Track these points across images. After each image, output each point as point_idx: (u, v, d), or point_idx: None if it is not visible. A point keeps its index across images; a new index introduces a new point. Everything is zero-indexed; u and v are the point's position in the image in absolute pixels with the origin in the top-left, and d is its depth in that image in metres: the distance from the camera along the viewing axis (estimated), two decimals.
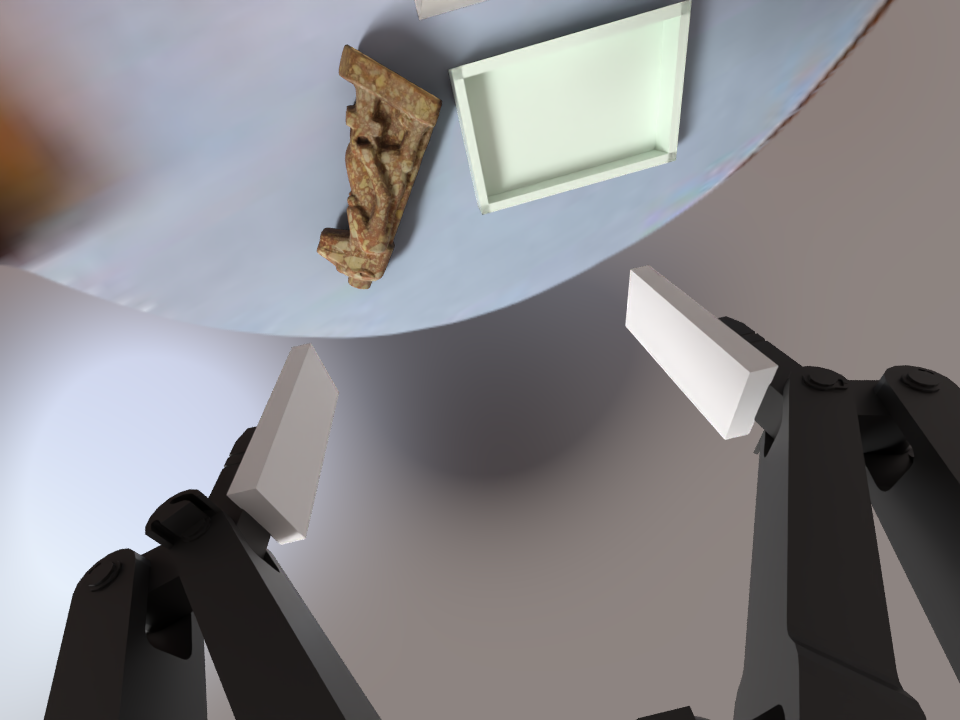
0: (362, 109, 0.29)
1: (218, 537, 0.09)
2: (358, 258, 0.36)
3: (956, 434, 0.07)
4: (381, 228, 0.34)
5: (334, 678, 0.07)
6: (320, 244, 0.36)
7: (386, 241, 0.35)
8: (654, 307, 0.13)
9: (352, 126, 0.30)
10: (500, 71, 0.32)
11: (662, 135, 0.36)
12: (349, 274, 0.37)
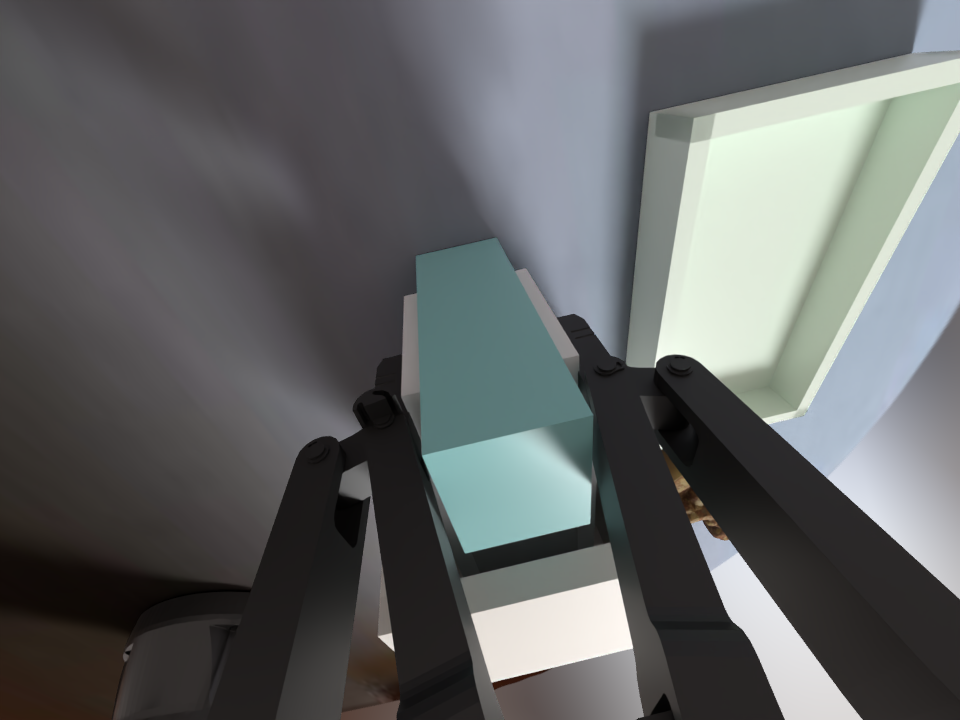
0: None
1: (397, 434, 0.10)
2: None
3: (715, 408, 0.09)
4: None
5: (459, 596, 0.07)
6: (720, 538, 0.35)
7: None
8: None
9: None
10: None
11: None
12: None
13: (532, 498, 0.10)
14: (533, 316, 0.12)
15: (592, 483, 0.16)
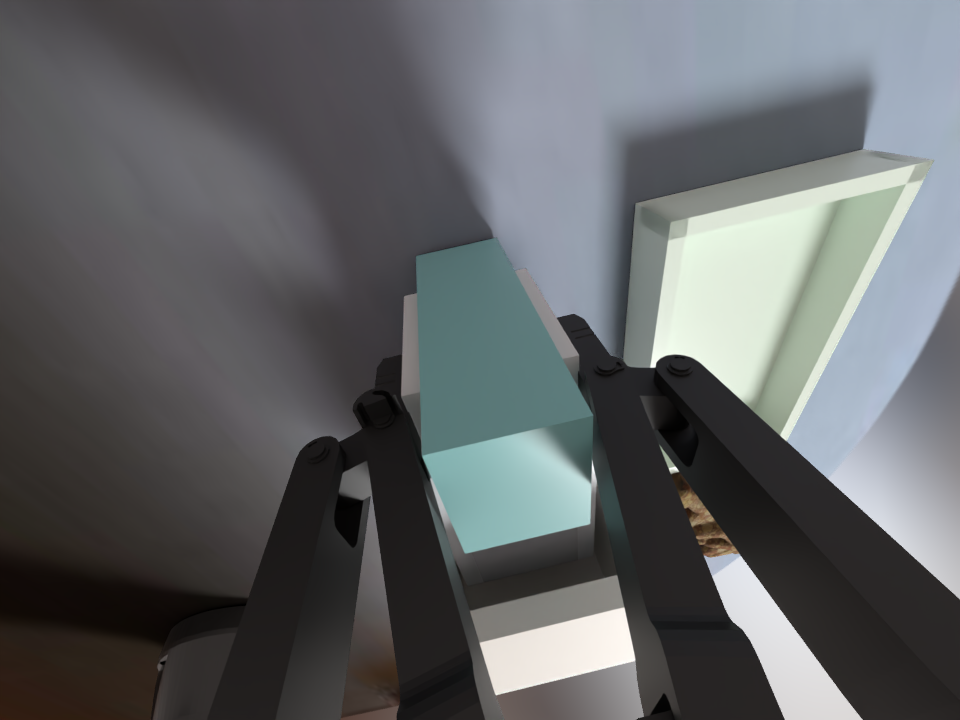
0: None
1: (397, 434, 0.10)
2: None
3: (715, 408, 0.09)
4: None
5: (459, 596, 0.07)
6: (706, 555, 0.38)
7: None
8: None
9: None
10: None
11: None
12: None
13: (532, 499, 0.10)
14: (533, 316, 0.12)
15: (592, 483, 0.16)
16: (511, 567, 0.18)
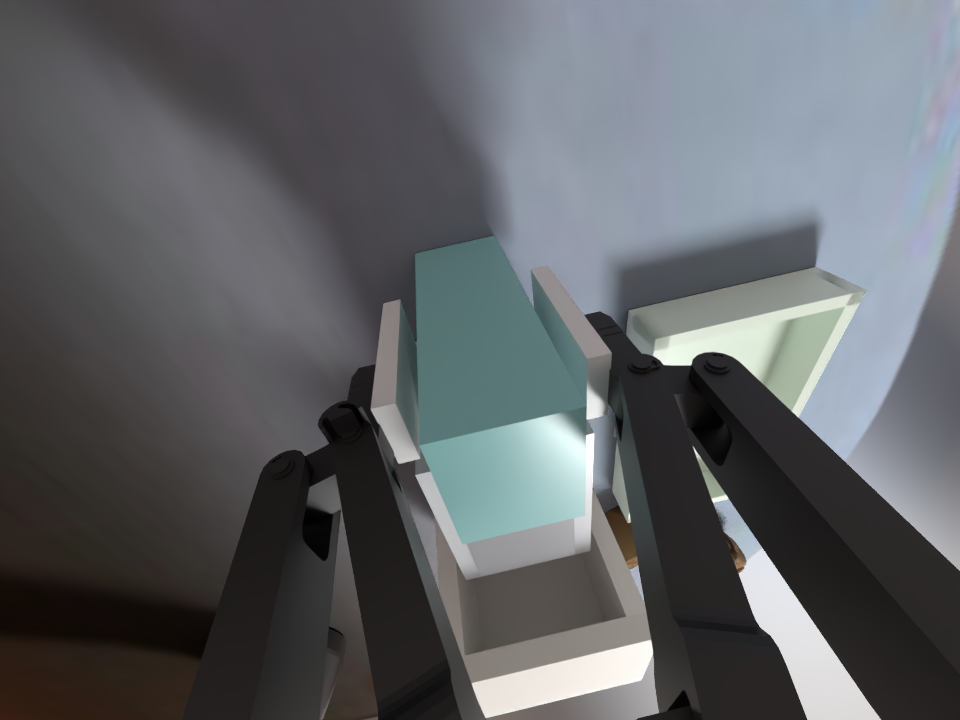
0: None
1: (366, 447, 0.10)
2: None
3: (752, 407, 0.09)
4: None
5: (435, 605, 0.07)
6: None
7: None
8: (544, 303, 0.15)
9: None
10: None
11: None
12: None
13: (528, 489, 0.10)
14: (529, 311, 0.12)
15: (588, 477, 0.16)
16: (509, 561, 0.19)
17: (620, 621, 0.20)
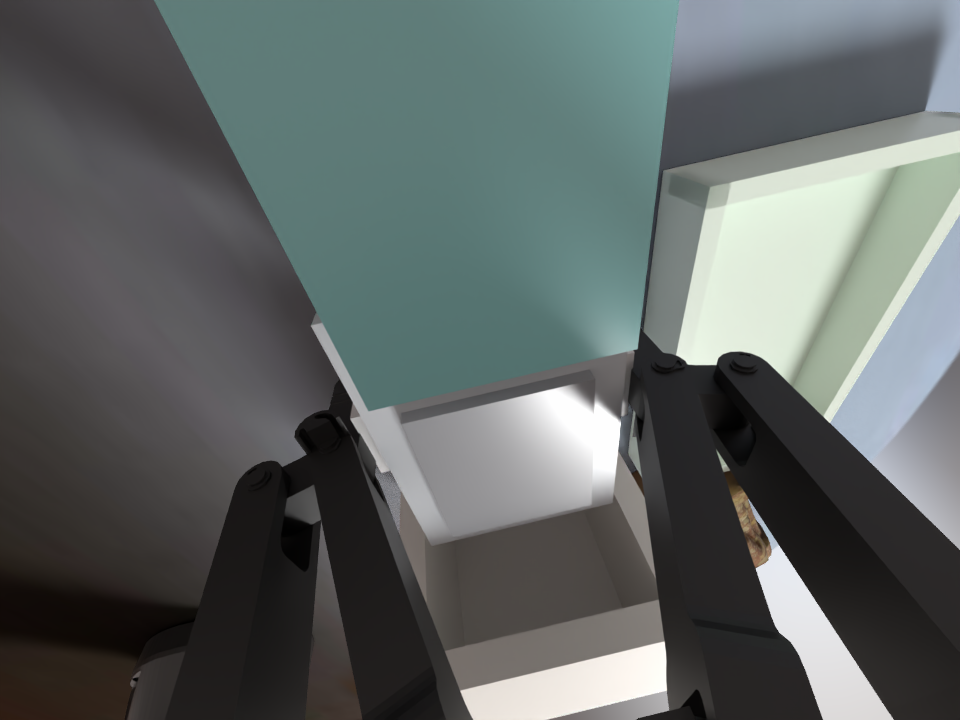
0: None
1: (345, 457, 0.10)
2: None
3: (778, 408, 0.09)
4: (757, 554, 0.31)
5: (420, 613, 0.07)
6: None
7: (764, 548, 0.32)
8: None
9: None
10: None
11: None
12: None
13: (508, 226, 0.04)
14: None
15: (620, 359, 0.10)
16: (492, 513, 0.12)
17: (656, 605, 0.14)
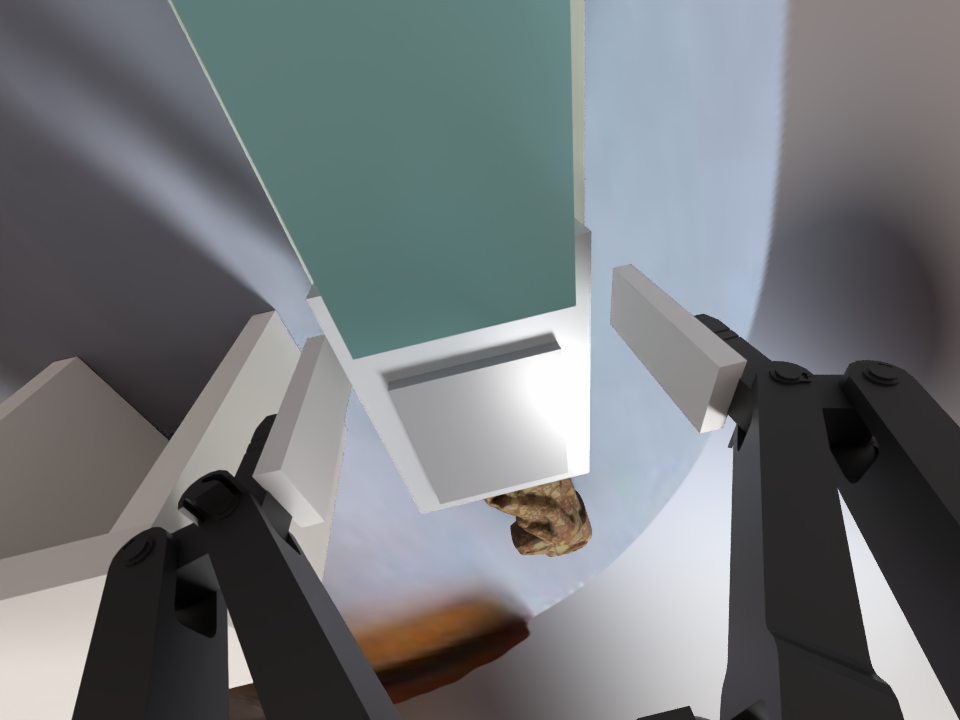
0: None
1: (245, 517, 0.09)
2: (562, 545, 0.31)
3: (916, 425, 0.08)
4: (567, 528, 0.27)
5: (351, 662, 0.07)
6: (520, 551, 0.32)
7: (579, 524, 0.29)
8: (635, 304, 0.14)
9: None
10: None
11: None
12: (562, 554, 0.32)
13: (457, 200, 0.05)
14: None
15: (584, 331, 0.11)
16: (476, 479, 0.13)
17: (89, 542, 0.10)
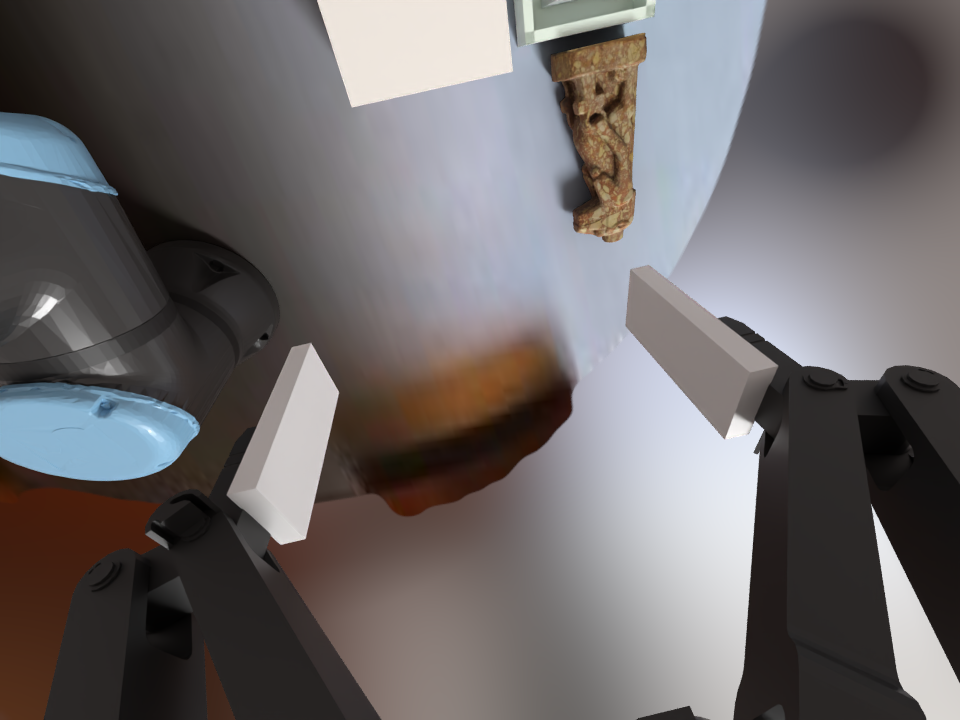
0: (587, 92, 0.34)
1: (218, 537, 0.09)
2: (613, 215, 0.42)
3: (956, 434, 0.07)
4: (627, 177, 0.39)
5: (334, 678, 0.07)
6: (579, 224, 0.42)
7: (632, 185, 0.40)
8: (654, 307, 0.13)
9: (583, 112, 0.35)
10: None
11: None
12: (609, 233, 0.43)
13: None
14: None
15: None
16: None
17: None
